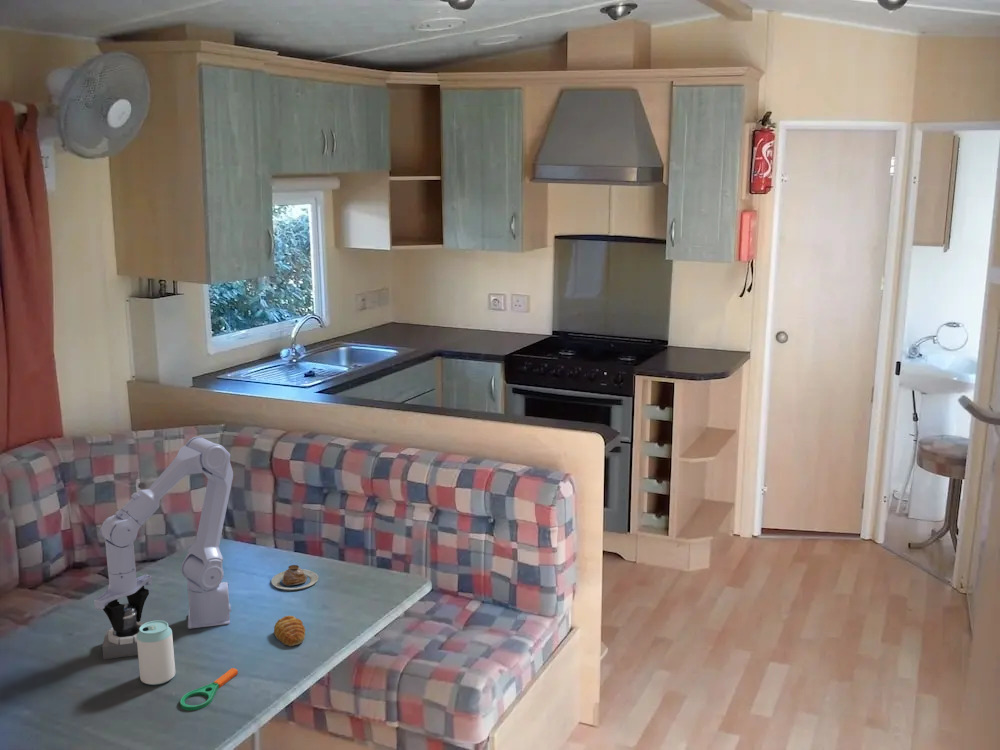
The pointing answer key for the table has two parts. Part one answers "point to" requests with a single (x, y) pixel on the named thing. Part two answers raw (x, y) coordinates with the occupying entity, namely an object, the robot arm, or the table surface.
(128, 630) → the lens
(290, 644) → the pastry
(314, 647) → the table surface
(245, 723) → the table surface
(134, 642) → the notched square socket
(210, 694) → the magnifying glass
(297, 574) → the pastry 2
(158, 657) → the can
